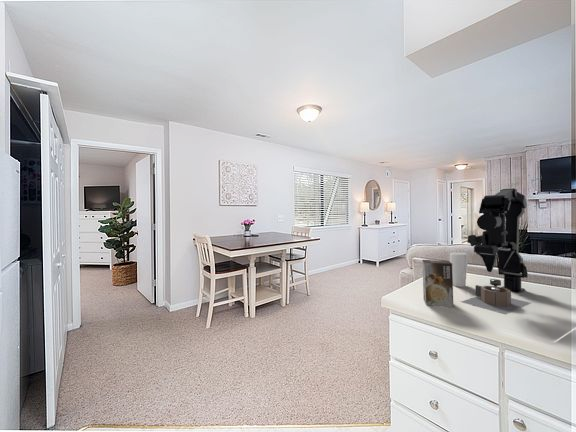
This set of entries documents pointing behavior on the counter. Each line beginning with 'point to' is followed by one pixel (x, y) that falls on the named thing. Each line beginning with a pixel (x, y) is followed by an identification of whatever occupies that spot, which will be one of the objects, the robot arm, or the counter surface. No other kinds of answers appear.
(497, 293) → the brown octagonal ring
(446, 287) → the coffee box
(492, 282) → the silver stemmed round piece
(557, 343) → the counter surface
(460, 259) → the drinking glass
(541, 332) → the counter surface
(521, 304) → the mat
